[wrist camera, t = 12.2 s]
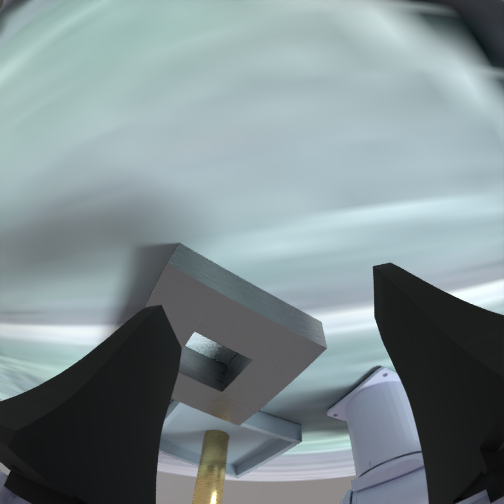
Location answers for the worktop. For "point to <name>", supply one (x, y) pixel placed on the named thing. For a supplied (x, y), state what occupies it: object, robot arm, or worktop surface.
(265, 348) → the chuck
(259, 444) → the tray
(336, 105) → the worktop surface
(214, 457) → the cylinder
